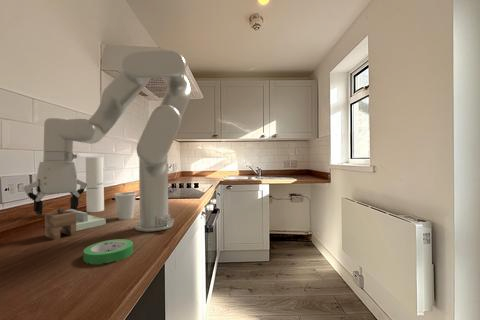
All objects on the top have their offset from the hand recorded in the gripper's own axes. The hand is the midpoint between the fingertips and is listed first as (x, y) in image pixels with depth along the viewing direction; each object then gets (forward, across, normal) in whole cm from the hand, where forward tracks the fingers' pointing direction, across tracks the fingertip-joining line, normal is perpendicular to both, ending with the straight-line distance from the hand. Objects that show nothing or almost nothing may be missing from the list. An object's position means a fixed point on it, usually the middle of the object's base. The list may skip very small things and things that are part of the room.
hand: (57, 211), depth 81 cm
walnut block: (+8, -1, +1) cm, 8 cm away
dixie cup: (+7, -26, -3) cm, 27 cm away
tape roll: (+8, 0, +31) cm, 32 cm away
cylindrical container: (+8, -27, -29) cm, 40 cm away
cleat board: (+8, -10, -8) cm, 15 cm away
